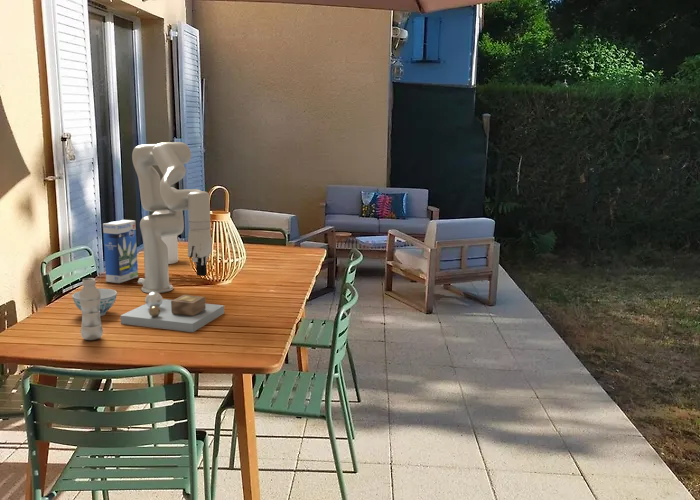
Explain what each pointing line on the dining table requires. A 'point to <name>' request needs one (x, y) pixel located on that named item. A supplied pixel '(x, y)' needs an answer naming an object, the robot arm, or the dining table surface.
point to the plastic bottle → (90, 310)
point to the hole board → (171, 317)
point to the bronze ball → (154, 311)
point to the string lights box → (120, 251)
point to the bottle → (170, 243)
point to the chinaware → (106, 300)
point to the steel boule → (153, 299)
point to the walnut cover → (188, 305)
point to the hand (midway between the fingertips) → (201, 275)
